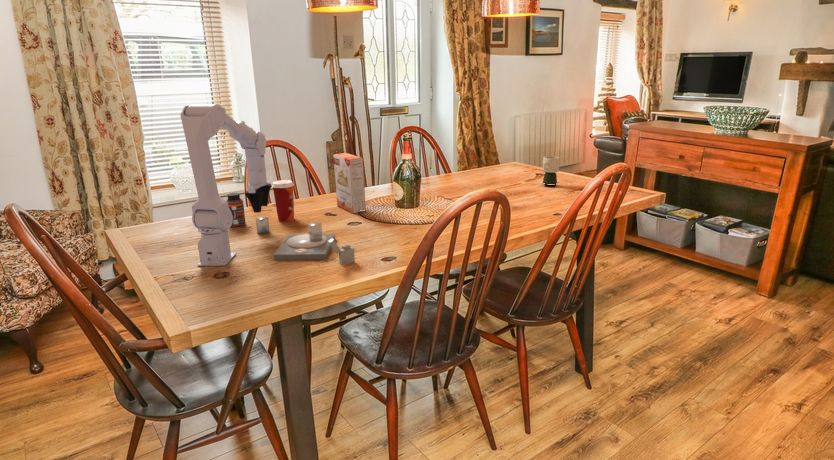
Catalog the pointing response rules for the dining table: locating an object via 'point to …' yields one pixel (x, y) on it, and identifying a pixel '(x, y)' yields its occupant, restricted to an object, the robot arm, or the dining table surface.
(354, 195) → the cracker box
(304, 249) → the kitchen scale
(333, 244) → the lighter
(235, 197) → the supplement bottle
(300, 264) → the dining table surface
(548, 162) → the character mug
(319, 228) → the cylinder
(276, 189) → the paper cup
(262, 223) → the spacer
